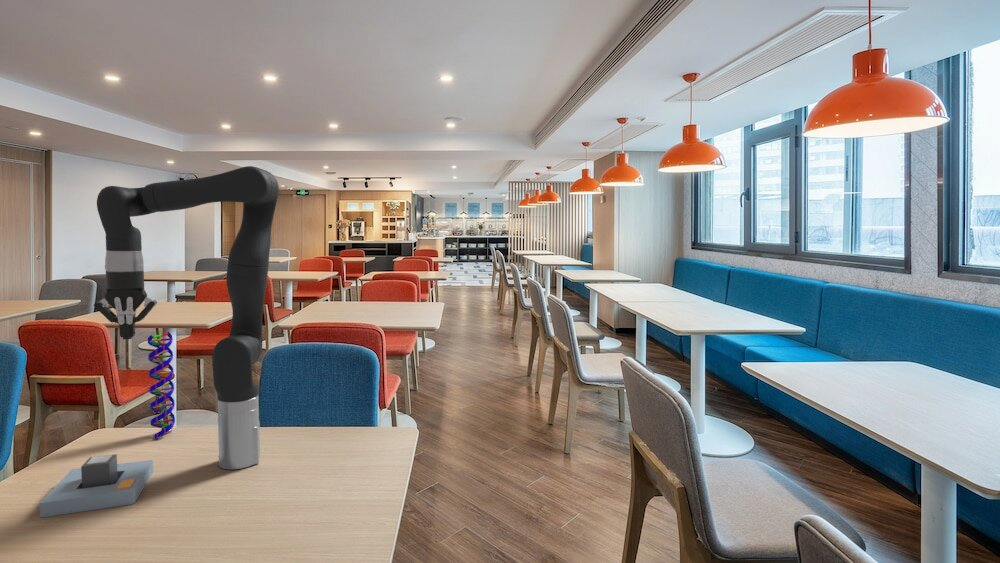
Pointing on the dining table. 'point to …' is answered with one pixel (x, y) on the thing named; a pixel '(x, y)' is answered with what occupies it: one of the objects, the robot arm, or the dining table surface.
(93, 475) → the plug
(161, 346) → the dna model
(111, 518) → the dining table surface
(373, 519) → the dining table surface
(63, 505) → the socket plate
